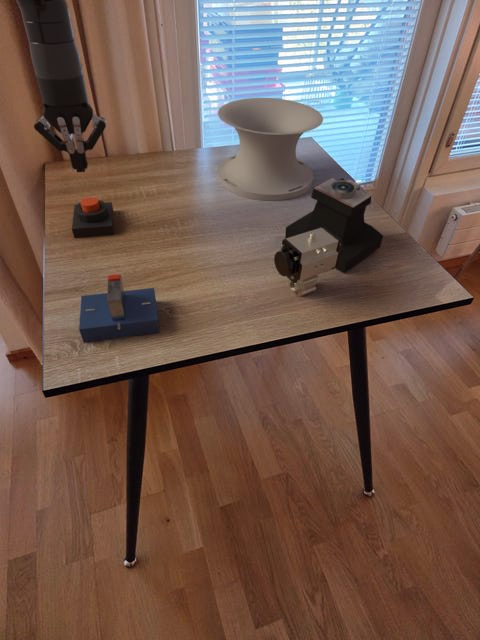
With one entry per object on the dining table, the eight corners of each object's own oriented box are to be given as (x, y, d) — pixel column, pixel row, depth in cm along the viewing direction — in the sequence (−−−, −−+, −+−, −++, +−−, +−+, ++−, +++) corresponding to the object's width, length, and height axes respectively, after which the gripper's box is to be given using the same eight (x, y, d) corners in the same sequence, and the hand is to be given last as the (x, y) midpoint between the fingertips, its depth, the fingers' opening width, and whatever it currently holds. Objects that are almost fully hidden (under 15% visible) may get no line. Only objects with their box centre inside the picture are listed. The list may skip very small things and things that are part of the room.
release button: (82, 213, 87) (80, 206, 85) (82, 205, 89) (80, 197, 88) (99, 212, 87) (98, 204, 86) (100, 204, 90) (98, 196, 88)
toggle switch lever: (125, 319, 66) (120, 297, 63) (112, 320, 65) (107, 299, 62) (124, 294, 70) (120, 273, 67) (112, 295, 70) (107, 274, 66)
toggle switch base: (83, 347, 65) (78, 333, 63) (85, 304, 72) (81, 290, 70) (160, 337, 67) (158, 323, 65) (155, 296, 74) (153, 282, 72)
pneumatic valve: (269, 291, 77) (276, 235, 68) (319, 273, 81) (331, 218, 73) (286, 309, 73) (295, 253, 65) (337, 289, 78) (352, 234, 69)
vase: (325, 171, 114) (337, 110, 103) (289, 210, 98) (299, 143, 87) (245, 150, 122) (247, 91, 111) (199, 183, 106) (197, 119, 95)
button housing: (74, 238, 86) (69, 221, 84) (76, 213, 93) (72, 197, 91) (113, 234, 88) (110, 217, 85) (113, 210, 95) (110, 194, 92)
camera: (288, 181, 80) (338, 154, 86) (285, 242, 90) (329, 214, 97) (356, 214, 71) (405, 182, 78) (343, 277, 82) (387, 244, 89)
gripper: (13, 77, 66) (43, 181, 78) (99, 76, 69) (116, 177, 81) (19, 65, 71) (47, 164, 83) (99, 65, 74) (115, 160, 86)
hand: (81, 170), depth 82 cm, fingers closed
